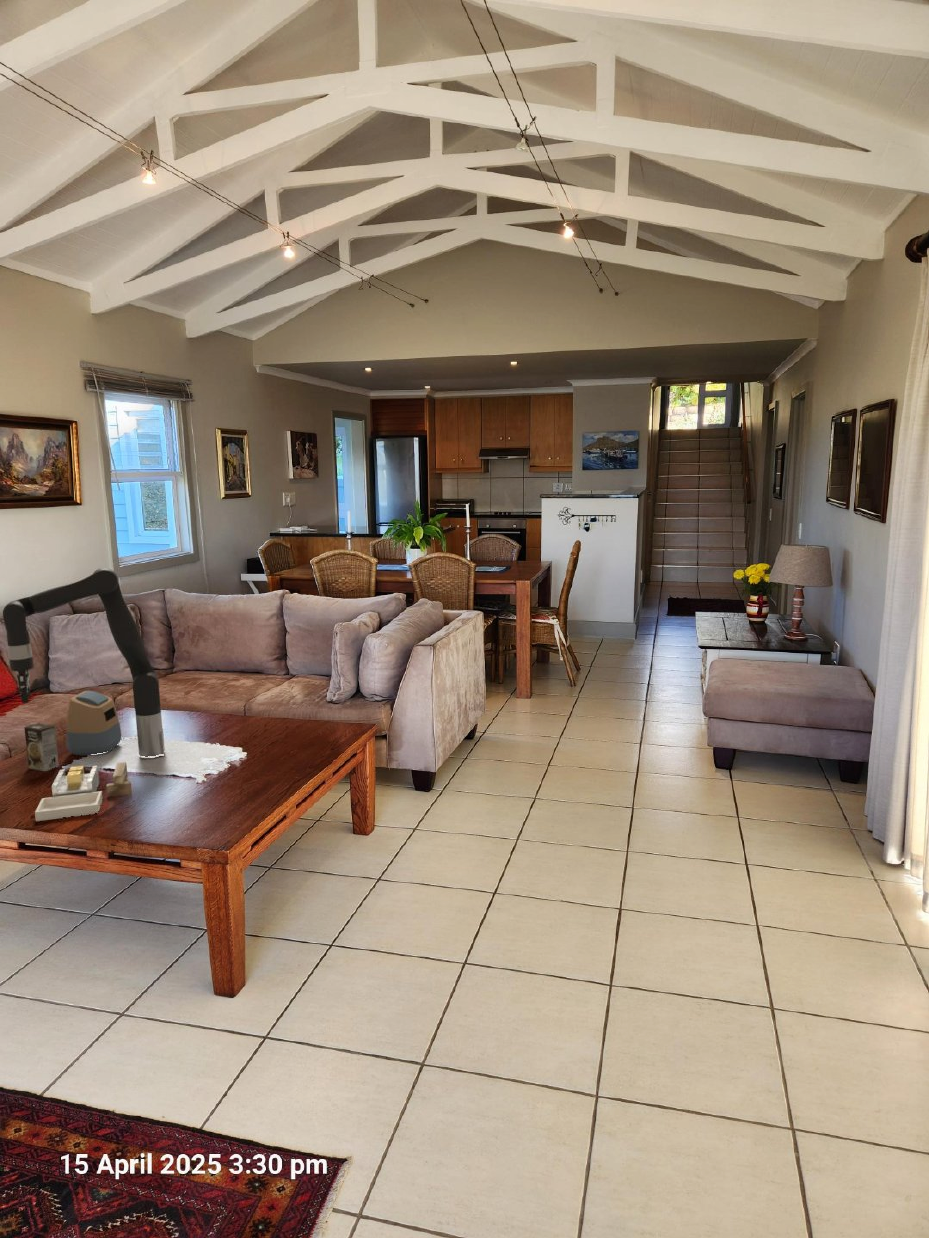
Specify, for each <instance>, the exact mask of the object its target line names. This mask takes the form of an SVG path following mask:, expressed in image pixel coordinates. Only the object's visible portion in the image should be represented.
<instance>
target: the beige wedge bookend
mask: <svg viewBox="0 0 929 1238" xmlns="http://www.w3.org/2000/svg"><path fill="white" fill-rule="evenodd" d="M112 781H113V782H111V783H107V784H106V795H107V798H111V796H112V797H118V796H119V795H120V796H127V795H132V792H133V791H132V790H133V789H132V781H131V780H129V778H128V765H127V761H123V762H117V763H116V765H115V769H114V772H113V775H112Z"/></svg>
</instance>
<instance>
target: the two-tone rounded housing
mask: <svg viewBox="0 0 929 1238" xmlns="http://www.w3.org/2000/svg"><path fill="white" fill-rule="evenodd" d="M66 719H67V720H66V732H65V735H66V736H65V737H66V748H67V750H68V752H70V753H71V754H72V755H75V756H92V755H91V754H97V753H103V752H107V751H109V750H110V749H111V748H113V747H114V748H116V747H117V746H118V745H119V743H120V742H121V740H122V739H121V738H122V731H121V723H120V722H119V717H118V711H117V707H116V704H115V702H114V700H113V699H112V698H111V697H109V696H108V695H105V694H103V693H100V692H97V691H93V690H84V691H82V692H80V693H78V694H76V695H75V696H72V697H70V700H69V702H68V709H67V718H66ZM117 744H118V745H117ZM116 745H117V746H116ZM115 746H116V747H115ZM114 748H113V749H114ZM111 750H112V749H111ZM111 750H110V751H111ZM110 751H109V752H110ZM107 753H108V752H107Z"/></svg>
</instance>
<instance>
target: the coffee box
mask: <svg viewBox="0 0 929 1238" xmlns="http://www.w3.org/2000/svg"><path fill="white" fill-rule="evenodd" d="M23 729H24V736H25V737H24V739H25V744H26V753H27V764H28V769H32V770H35V771H36V770H37V771H39V772H40V771H41V772H48V771H50V770H53V769H56V768H58V767H60V766H59V765H60V764H59V755H58V754H59V753H58V746H57V745H58V744H57V743H58V742H57V733H56V725H52V724H47V723H42V722H38V723H35V724H29V725H26V726H25V727H23ZM55 767H56V768H55ZM52 768H53V769H52Z"/></svg>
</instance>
